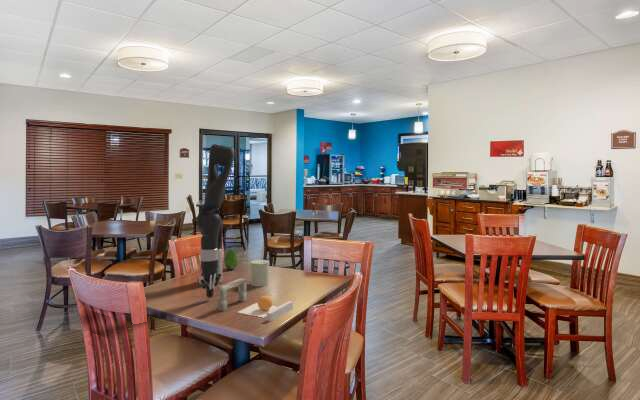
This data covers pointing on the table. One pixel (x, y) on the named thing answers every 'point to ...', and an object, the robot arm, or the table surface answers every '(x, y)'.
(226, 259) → the avocado
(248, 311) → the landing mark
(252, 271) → the can
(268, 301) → the ball
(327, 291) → the table surface
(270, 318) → the wall
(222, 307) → the bridge
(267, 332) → the table surface
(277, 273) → the table surface
